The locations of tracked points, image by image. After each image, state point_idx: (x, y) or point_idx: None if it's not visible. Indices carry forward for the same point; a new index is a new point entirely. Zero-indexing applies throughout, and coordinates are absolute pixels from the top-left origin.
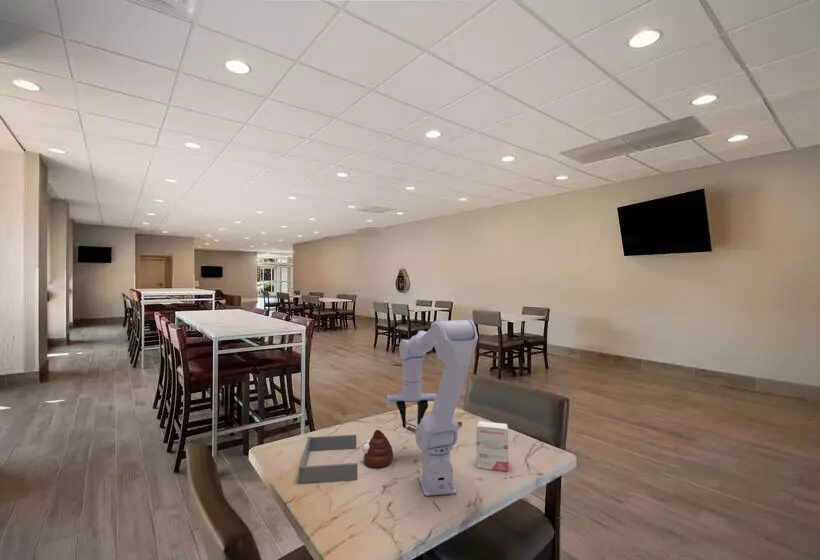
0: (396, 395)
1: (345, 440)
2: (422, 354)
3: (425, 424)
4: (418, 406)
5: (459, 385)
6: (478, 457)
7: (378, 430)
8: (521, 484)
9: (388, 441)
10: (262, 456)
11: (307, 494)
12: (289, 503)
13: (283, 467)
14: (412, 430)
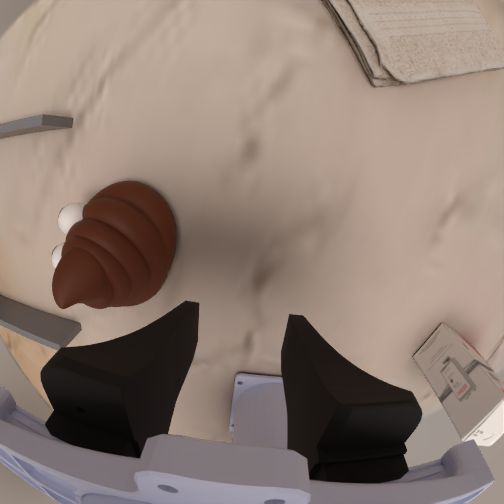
0: (29, 476)
1: (26, 129)
2: None
3: None
4: (307, 426)
5: None
6: (425, 376)
7: (61, 307)
8: (429, 413)
9: (133, 270)
10: None
11: (20, 339)
12: (11, 350)
13: None
14: (331, 9)
